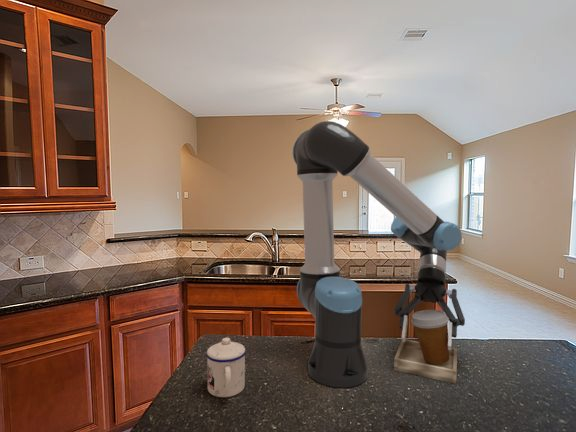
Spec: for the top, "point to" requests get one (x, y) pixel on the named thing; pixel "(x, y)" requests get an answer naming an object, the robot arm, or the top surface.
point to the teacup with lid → (226, 368)
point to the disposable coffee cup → (432, 334)
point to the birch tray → (424, 363)
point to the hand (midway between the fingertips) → (425, 343)
